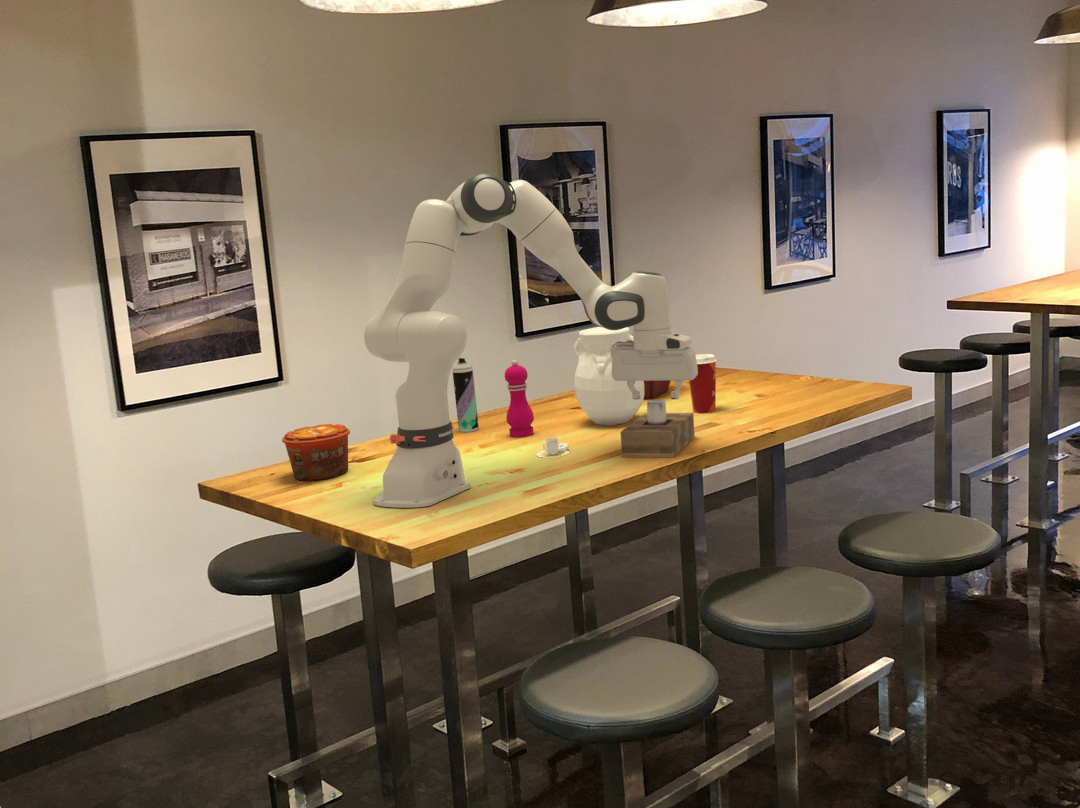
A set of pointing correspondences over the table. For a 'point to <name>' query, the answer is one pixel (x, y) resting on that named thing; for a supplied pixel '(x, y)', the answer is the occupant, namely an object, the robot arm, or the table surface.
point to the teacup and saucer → (554, 447)
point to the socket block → (657, 436)
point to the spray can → (465, 396)
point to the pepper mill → (518, 402)
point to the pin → (656, 412)
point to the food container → (318, 451)
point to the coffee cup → (704, 384)
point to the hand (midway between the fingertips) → (655, 399)
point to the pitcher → (603, 378)
